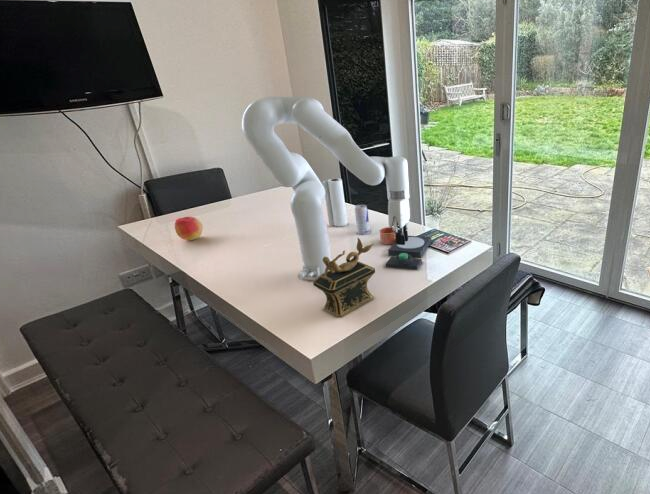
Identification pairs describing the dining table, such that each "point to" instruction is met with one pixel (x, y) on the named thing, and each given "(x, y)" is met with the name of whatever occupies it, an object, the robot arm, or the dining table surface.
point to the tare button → (403, 256)
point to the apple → (188, 228)
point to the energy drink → (362, 219)
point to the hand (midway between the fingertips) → (402, 242)
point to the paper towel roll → (335, 202)
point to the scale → (411, 246)
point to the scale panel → (404, 263)
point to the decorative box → (345, 282)
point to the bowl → (387, 236)
